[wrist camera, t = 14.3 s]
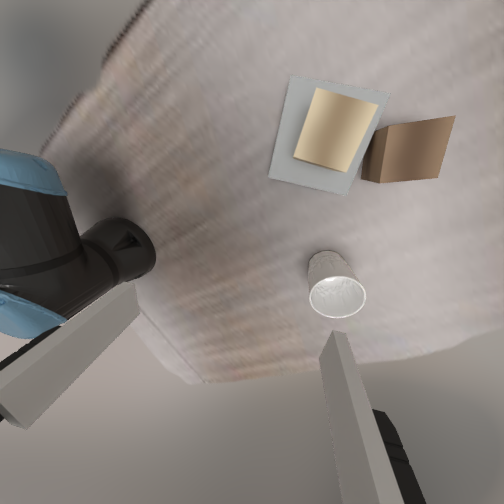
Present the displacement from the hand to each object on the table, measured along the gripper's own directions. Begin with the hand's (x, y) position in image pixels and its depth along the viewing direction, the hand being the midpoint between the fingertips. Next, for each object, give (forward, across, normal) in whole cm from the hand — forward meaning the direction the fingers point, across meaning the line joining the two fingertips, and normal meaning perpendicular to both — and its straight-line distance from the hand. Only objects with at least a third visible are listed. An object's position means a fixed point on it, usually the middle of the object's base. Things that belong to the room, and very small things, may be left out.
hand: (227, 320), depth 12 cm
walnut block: (+25, +16, +13) cm, 32 cm away
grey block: (+26, +6, +13) cm, 29 cm away
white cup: (+25, +13, -7) cm, 29 cm away
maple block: (+22, +6, +13) cm, 26 cm away
